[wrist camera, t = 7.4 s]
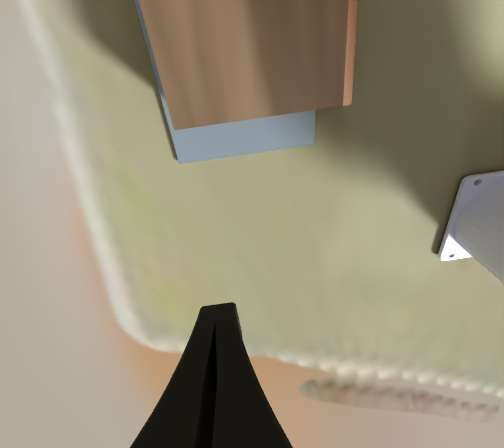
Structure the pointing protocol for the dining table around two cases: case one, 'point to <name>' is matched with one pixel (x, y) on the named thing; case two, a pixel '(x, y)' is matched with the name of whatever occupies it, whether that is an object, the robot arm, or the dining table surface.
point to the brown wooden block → (251, 57)
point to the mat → (234, 128)
